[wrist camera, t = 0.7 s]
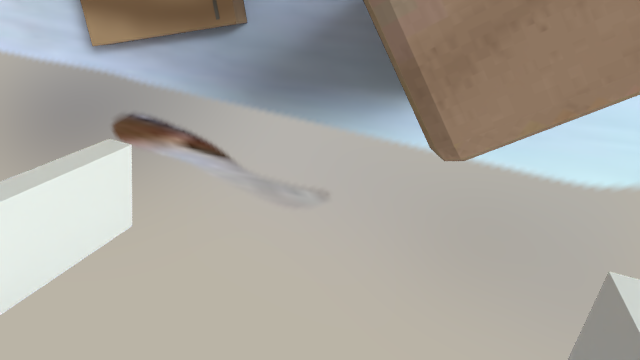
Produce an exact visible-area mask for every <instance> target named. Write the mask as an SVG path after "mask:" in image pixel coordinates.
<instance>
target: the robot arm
mask: <svg viewBox="0 0 640 360" xmlns="http://www.w3.org/2000/svg"><path fill="white" fill-rule="evenodd" d="M131 226H132V145H131V144H127V143H123V142H120V141H116V140H112V139H108V140H105V141H103V142H100V143H98V144H95V145H92V146H90V147H87V148H85V149H82V150H80V151H77V152H74V153H72V154H69V155H67V156H64V157H62V158H59V159H57V160H54V161H51V162H49V163H46V164H44V165H41V166H39V167H36V168H34V169H31V170H29V171H26V172H24V173H21V174H19V175H16V176H13V177H11V178H8V179H6V180H3V181H1V182H0V315H1V314H3V313H4V312H6V311H7V310H8V309H10V308H12V307H13V306H14V305H16V304H17V303H19V302H20V301H22V300H23V299H25V298H26V297H28V296H29V295H31V294H32V293H33V292H35V291H37V290H38V289H39V288H41V287H43V286H44V285H46V284H47V283H49V282H50V281H52V280H53V279H54V278H56V277H57V276H59V275H60V274H62V273H63V272H65V271H66V270H68V269H69V268H71V267H72V266H74V265H75V264H77V263H78V262H80V261H81V260H83V259H84V258H86V257H87V256H89V254H91V253H93V252H94V251H96V250H97V249H99V248H100V247H102V246H103V245H105V244H106V243H108V242H109V241H111V240H112V239H114V238H115V237H117V236H118V235H120V234H121V233H123V232H124V231H125V230H127V229H128V228H130V227H131ZM568 360H640V279H636V278H632V277H628V276H625V275H621V274H617V273H613V272H608V274H607V277H606V279H605V281H604V283H603V285H602V288H601V290H600V292H599V294H598V296H597V298H596V301H595V302H594V305H593V307H592V309H591V311H590V313H589V315H588V317H587V320H586V322H585V324H584V326H583V328H582V331H581V332H580V335H579V337H578V339H577V341H576V343H575V345H574V347H573V350H572V352H571V354H570V356H569V358H568Z"/></svg>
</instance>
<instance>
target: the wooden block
mask: <svg viewBox="0 0 640 360" xmlns="http://www.w3.org/2000/svg"><path fill="white" fill-rule="evenodd" d="M363 1H364V3H365V5H366V8H367V10H368V12H369V14H370V16H371V19H372V21H373V23H374V25H375V27H376V30H377V32H378V34H379V36H380V38H381V41H382V43H383V45H384V47H385V49H386V52H387V54H388V56H389V58H390V60H391V63H392V65H393V67H394V69H395V72H396V74H397V76H398V78H399V80H400V83H401V85H402V87H403V89H404V91H405V94H406V96H407V98H408V100H409V102H410V105H411V107H412V109H413V111H414V113H415V116H416V118H417V120H418V122H419V124H420V127H421V129H422V131H423V133H424V135H425V138H426V140H427V142H428V144H429V146H430V148H431V149H432V150H433V151H434V152H435V153H436V154H437V155H438V156H439V157H440V158H442V159H443V160H444V161H466V160H468V159H471V158H474V157H476V156H479V155H482V154H484V153H487V152H489V151H492V150H495V149H497V148H500V147H503V146H505V145H508V144H511V143H513V142H516V141H518V140H521V139H524V138H526V137H529V136H532V135H534V134H537V133H540V132H542V131H545V130H548V129H550V128H553V127H555V126H558V125H561V124H563V123H566V122H569V121H571V120H574V119H577V118H579V117H582V116H584V115H587V114H590V113H592V112H595V111H598V110H600V109H603V108H606V107H608V106H611V105H613V104H616V103H619V102H621V101H624V100H627V99H629V98H632V97H635V96H637V95H640V0H363Z"/></svg>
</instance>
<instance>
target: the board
mask: <svg viewBox="0 0 640 360" xmlns="http://www.w3.org/2000/svg"><path fill="white" fill-rule="evenodd" d="M80 1H81V5H82V8H83V12H84V16H85V19H86V23H87V27H88V31H89V34H90V38H91V42H92V45H93V46H99V45H109V44H115V43H121V42H128V41H134V40H140V39H147V38H153V37H159V36H166V35H172V34H178V33H185V32H191V31H197V30H204V29H210V28H216V27H223V26H229V25H235V24H242V23H247V18H246V13H245V7H244V1H243V0H80Z"/></svg>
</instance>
